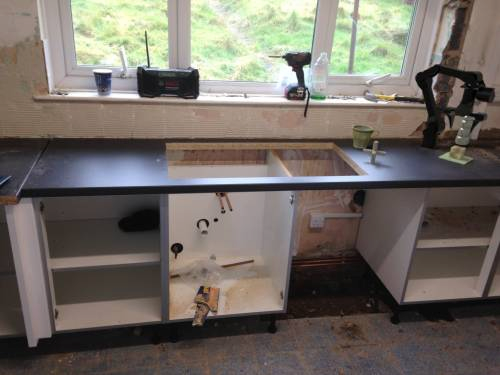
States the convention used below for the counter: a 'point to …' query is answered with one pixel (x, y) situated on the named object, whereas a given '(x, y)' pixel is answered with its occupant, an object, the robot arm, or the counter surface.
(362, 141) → the ceramic cup
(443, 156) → the sage mat
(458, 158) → the beech block
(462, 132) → the silver ribbed metal bottle
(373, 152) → the pipe connector
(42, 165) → the counter surface
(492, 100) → the robot arm
